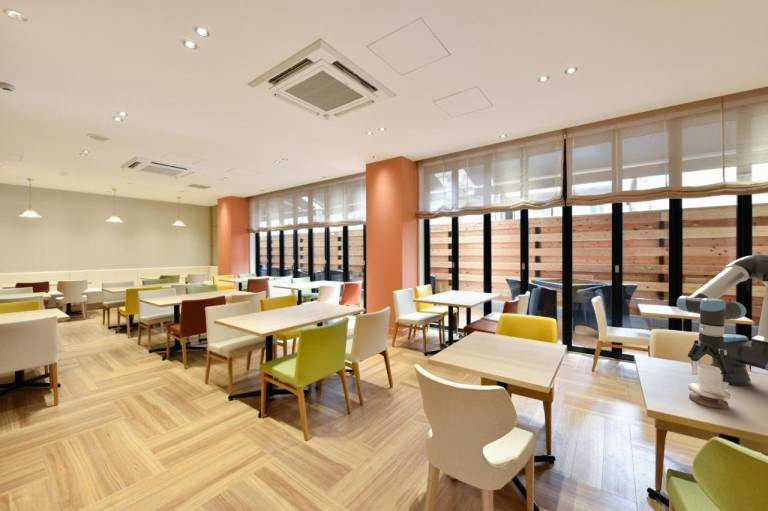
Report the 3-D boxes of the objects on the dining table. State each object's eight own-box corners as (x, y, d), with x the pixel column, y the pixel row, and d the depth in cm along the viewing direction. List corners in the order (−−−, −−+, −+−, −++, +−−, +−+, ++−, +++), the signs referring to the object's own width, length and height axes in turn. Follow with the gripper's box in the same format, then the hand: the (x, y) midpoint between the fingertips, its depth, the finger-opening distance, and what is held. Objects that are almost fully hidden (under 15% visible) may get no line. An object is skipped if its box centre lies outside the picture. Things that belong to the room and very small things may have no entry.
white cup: (712, 386, 141) (713, 365, 141) (728, 395, 134) (729, 372, 133) (692, 385, 143) (693, 363, 142) (706, 393, 135) (707, 370, 135)
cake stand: (711, 395, 145) (711, 383, 144) (739, 410, 132) (739, 398, 131) (679, 394, 146) (680, 382, 146) (704, 408, 133) (705, 396, 133)
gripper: (678, 326, 150) (676, 369, 151) (729, 343, 125) (726, 394, 127) (696, 326, 149) (694, 370, 150) (750, 343, 125) (747, 396, 126)
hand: (708, 381), depth 138 cm, fingers open, 13 cm apart
